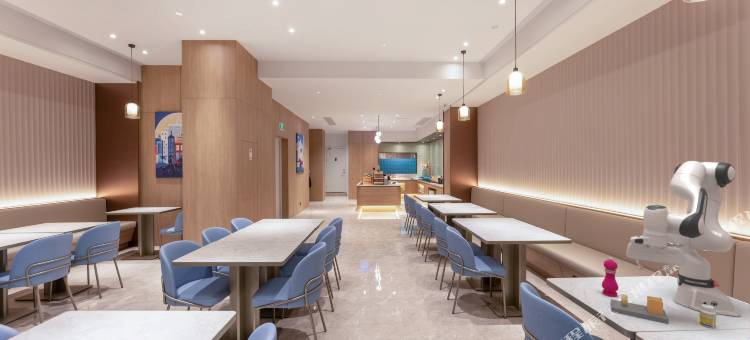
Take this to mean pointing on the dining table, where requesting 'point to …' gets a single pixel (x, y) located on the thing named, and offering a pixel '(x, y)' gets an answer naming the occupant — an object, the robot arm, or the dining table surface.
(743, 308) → the dining table surface
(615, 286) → the pepper mill
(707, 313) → the supplement bottle
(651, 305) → the tangerine wooden cube
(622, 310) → the plate
